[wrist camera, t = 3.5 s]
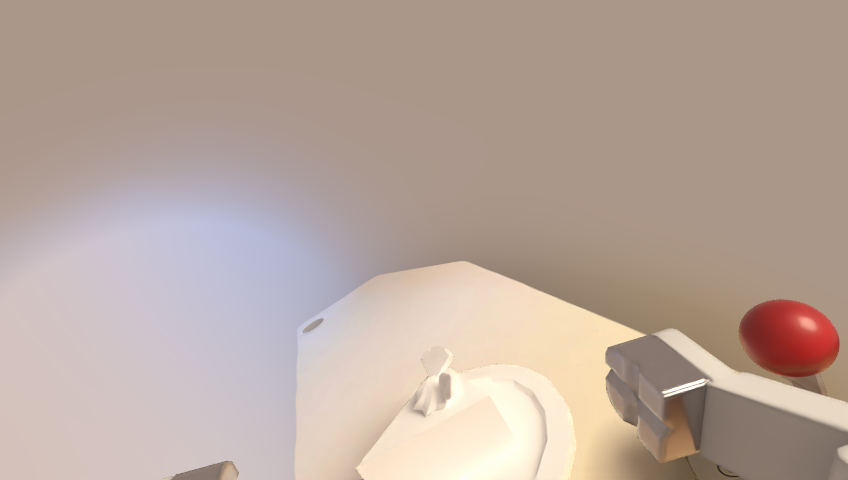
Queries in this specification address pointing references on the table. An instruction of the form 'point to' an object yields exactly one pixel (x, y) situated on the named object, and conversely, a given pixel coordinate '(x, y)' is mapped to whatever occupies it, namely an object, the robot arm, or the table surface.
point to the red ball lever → (790, 342)
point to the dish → (476, 427)
